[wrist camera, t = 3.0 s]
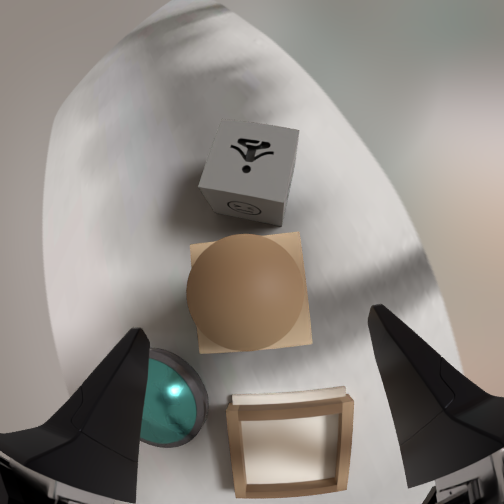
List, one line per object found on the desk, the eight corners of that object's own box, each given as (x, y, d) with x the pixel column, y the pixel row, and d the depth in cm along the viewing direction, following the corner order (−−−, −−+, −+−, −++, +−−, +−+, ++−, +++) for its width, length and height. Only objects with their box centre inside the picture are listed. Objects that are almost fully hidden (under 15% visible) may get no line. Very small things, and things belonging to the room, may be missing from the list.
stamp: (299, 327, 18) (335, 364, 7) (230, 334, 19) (173, 376, 7) (291, 259, 19) (315, 202, 8) (223, 266, 19) (161, 222, 8)
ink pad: (230, 415, 17) (226, 424, 16) (154, 451, 17) (146, 460, 16) (166, 328, 19) (158, 330, 17) (99, 374, 19) (88, 378, 17)
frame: (341, 485, 15) (345, 495, 14) (238, 492, 16) (236, 503, 14) (348, 385, 17) (354, 391, 16) (228, 394, 18) (224, 401, 16)
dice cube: (294, 166, 21) (299, 130, 16) (281, 226, 20) (284, 202, 15) (232, 155, 21) (221, 118, 16) (215, 213, 20) (198, 186, 15)
